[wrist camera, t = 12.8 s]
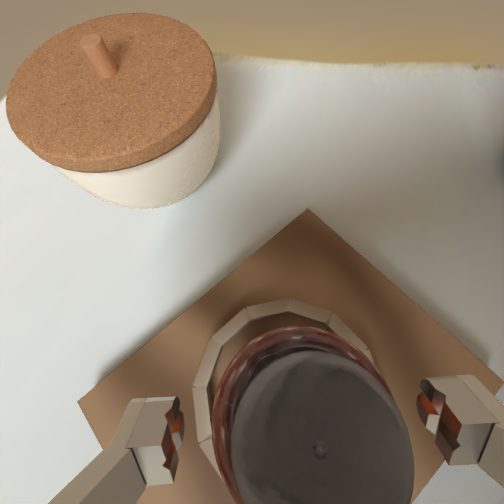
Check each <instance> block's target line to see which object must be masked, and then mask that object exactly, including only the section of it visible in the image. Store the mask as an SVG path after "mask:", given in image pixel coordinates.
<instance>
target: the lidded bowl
mask: <svg viewBox="0 0 504 504" xmlns="http://www.w3.org/2000/svg"><path fill="white" fill-rule="evenodd" d="M6 112H7V118H8V121H9V123H10V126H11V129H12V130H13V131H14V133H15V134H16V136H17V137H18V139H20V140H21V141H22V142H23V143H24V144H25V145H26V146H27V147H28V148H29V149H31V150H32V151H33V152H34V153H35V154H36V155H37V156H39V157H40V158H42V159H43V160H45V161H47V162H49V163H50V164H51V165H52V166H53V167H54V168H55V169H57V170H58V171H59V172H60V173H61V174H63V175H64V176H65V177H66V178H67V179H69V180H70V181H71V182H73V183H74V184H76V185H77V186H79V187H80V188H81V189H83V190H85V191H86V192H88V193H90V194H92V195H93V196H95V197H97V198H99V199H101V200H103V201H106V202H109V203H111V204H114V205H118V206H121V207H126V208H131V209H153V208H160V207H164V206H168V205H170V204H173V203H176V202H178V201H180V200H182V199H183V198H185V197H187V196H188V195H190V194H191V193H192V192H194V191H195V190H196V189H197V188H198V187H199V186H200V185H201V184H202V182H203V181H204V180H205V179H206V177H207V176H208V174H209V173H210V171H211V169H212V167H213V165H214V162H215V159H216V156H217V153H218V150H219V143H220V133H221V122H220V106H219V98H218V92H217V76H216V68H215V63H214V59H213V56H212V52H211V50H210V49H209V47H208V45H207V43H206V42H205V41H204V39H203V38H202V37H201V36H200V35H199V34H198V33H197V32H196V31H194V30H193V29H192V28H190V27H189V26H188V25H186V24H184V23H182V22H180V21H178V20H175V19H172V18H169V17H166V16H161V15H156V14H148V13H125V14H115V15H109V16H104V17H99V18H96V19H92V20H89V21H86V22H83V23H81V24H78V25H76V26H73V27H71V28H69V29H67V30H65V31H63V32H61V33H59V34H57V35H55V36H54V37H52V38H51V39H49V40H48V41H46V42H45V43H44V44H42V45H41V46H40V47H39V48H37V49H36V50H35V51H34V52H33V53H32V54H31V55H30V56H29V57H28V58H27V59H26V60H25V61H24V62H23V64H22V65H21V66H20V67H19V69H18V70H17V72H16V73H15V75H14V77H13V79H12V81H11V83H10V86H9V89H8V91H7V98H6Z"/></svg>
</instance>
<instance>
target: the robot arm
mask: <svg viewBox="0 0 504 504" xmlns="http://www.w3.org/2000/svg"><path fill="white" fill-rule="evenodd" d="M420 388H421V389H422V392H421V393H420V394H419V395H418V396H417V401H416V405H417V410H418V414H419V416H420V419H421V421H422V422H423V424H424V426H425V427H426V428H427V429H428V430H430V431H431V432H432V433H434V434H435V441H434V442H435V444H436V445H437V447H438V449H439V450H440V452H441V453H442V455H443V457H444V458H445V460H446V462H447V463H448V465H469V464H479V465H478V466H479V467H480V468H481V469H482V470H484V471H485V472H486V473H487V474H488V475H490V476H491V477H492V478H493V479H494V480H495V481H497V482H498V483H499V484H500V485H501V486H503V487H504V406H503V405H502V404H501V403H500V402H499V401H498V400H497V399H496V398H495V397H494V396H493V395H492V393H491V392H490V391H489V390H488V389H487V388H486V387H485V386H484V385H483V384H482V383H481V382H480V381H479V380H478V379H477V378H476V377H475V376H473V375H457V376H441V377H430V378H423V379H422V380H421V382H420ZM179 407H180V400H179V397H153V398H135V399H132V400H131V401H130V402H129V404H128V406H127V408H126V410H125V413H124V415H123V417H122V419H121V422H120V424H119V426H118V428H117V430H116V433H115V435H114V437H113V439H112V442H111V444H110V446H109V448H108V450H103V451H102V452H101V453H100V454H99V455H98V456H97V457H96V458H95V459H94V460H93V461H92V462H91V463H89V464H88V465H87V466H86V467H85V468H84V469H83V470H82V471H81V472H80V473H79V474H78V475H77V476H76V477H75V478H74V479H73V480H72V481H71V482H70V483H69V484H68V485H67V486H66V487H65V488H64V489H63V490H62V491H60V492H59V493H58V494H57V495H56V496H55V497H54V498H53V499H52V500H51V501H50V502H49V503H48V504H135V503H136V502H137V501H138V499H139V498H140V496H141V495H142V493H143V492H144V491H145V489H146V486H151V485H161V484H171V483H174V480H175V475H176V471H177V466H178V461H179V458H178V454H177V450H178V449H179V447H180V446H181V445H182V443H183V437H184V428H185V422H184V415H183V412H181V411H180V410H179Z"/></svg>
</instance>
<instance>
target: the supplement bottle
mask: <svg viewBox="0 0 504 504" xmlns="http://www.w3.org/2000/svg"><path fill="white" fill-rule="evenodd" d="M211 430H212V444H213V449H214V455H215V459H216V462H217V465H218V468H219V471H220V474H221V476H222V479H223V481H224V483H225V485H226V487H227V489H228V491H229V492H230V494H231V496H232V497H233V499H234V501H235V502H236V503H237V504H410V502H411V498H412V494H413V487H414V476H415V471H414V456H413V450H412V445H411V441H410V436H409V432H408V428H407V426H406V424H405V421H404V419H403V417H402V414H401V412H400V410H399V409H398V407H397V405H396V403H395V400H394V398H393V395H392V393H391V390H390V388H389V386H388V384H387V383H386V381H385V379H384V377H383V376H382V375H381V373H380V372H379V371H378V369H377V367H376V366H375V365H374V364H373V363H372V362H371V361H370V360H369V359H368V357H367V356H366V355H365V354H364V353H363V352H362V351H361V350H359V349H358V348H357V347H356V346H354V345H353V344H351V343H350V342H349V341H347V340H345V339H343V338H342V337H340V336H338V335H336V334H334V333H331V332H330V331H327V330H324V329H320V328H317V327H311V326H288V327H282V328H277V329H274V330H271V331H268V332H266V333H264V334H262V335H260V336H258V337H256V338H255V339H253V340H251V341H250V342H249V343H248V344H246V345H245V346H244V347H243V348H242V349H241V350H240V351H239V352H238V353H237V354H236V355H235V357H234V358H233V359H232V360H231V362H230V363H229V365H228V366H227V368H226V370H225V372H224V374H223V376H222V378H221V380H220V382H219V385H218V387H217V391H216V395H215V398H214V403H213V409H212V420H211Z"/></svg>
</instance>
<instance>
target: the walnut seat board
mask: <svg viewBox="0 0 504 504" xmlns="http://www.w3.org/2000/svg"><path fill="white" fill-rule="evenodd" d="M288 326H311V327H317V328H320V329H324V330H327V331H330V332H331V333H334V334H336V335H338V336H340V337H342V338H343V339H345V340H347V341H349V342H350V343H351V344H353V345H354V346H356V347H357V348H358V349H359V350H361V351H362V352H363V353H364V354H365V355H366V356H367V357H368V359H369V360H370V361H371V362H372V363H373V364H374V365H375V366H376V367H377V369H378V371H379V372H380V373H381V375H382V376H383V377H384V379H385V381H386V383H387V384H388V386H389V388H390V390H391V393H392V395H393V398H394V400H395V403H396V405H397V407H398V409H399V410H400V412H401V414H402V417H403V419H404V421H405V424H406V426H407V428H408V432H409V436H410V441H411V445H412V450H413V456H414V471H415V476H414V487H413V494H412V498H411V502H410V504H412V502H413V501H414V500H415V498H416V497H417V496H418V495H419V493H420V492H421V491H422V489H423V488H424V487H425V485H426V484H427V483H428V481H429V480H430V479H431V478H432V476H433V475H434V474H435V472H436V471H437V470H438V468H439V467H440V466H441V464H442V463H443V462H444V461H445V458H444V457H443V455H442V453H441V452H440V450H439V449H438V447H437V445H436V444H435V442H434V441H435V434H434V433H432V432H431V431H430V430H428V429H427V428H426V427H425V426H424V424H423V422H422V421H421V419H420V416H419V414H418V410H417V405H416V401H417V396H418V395H419V394H420V393H421V392H422V389H421V388H420V382H421V380H422V379H423V378H430V377H441V376H457V375H473V376H475V377H476V378H477V379H478V380H479V381H480V382H481V383H482V384H483V385H484V386H485V387H486V388H487V389H488V390H489V391H490V392H491V393H492V395H493V396H494V395H495V394H496V393H497V391H498V390H499V389H500V387H501V386H502V385H503V383H504V381H503V380H502V379H501V378H499V377H498V376H497V375H496V374H495V373H494V372H493V371H492V370H490V369H489V368H488V367H487V366H486V365H485V364H484V363H482V362H481V361H480V360H479V359H478V358H477V357H476V356H475V355H473V354H472V353H471V352H470V351H469V350H468V349H467V348H465V347H464V346H463V345H462V344H461V343H460V342H459V341H458V340H456V339H455V338H454V337H453V336H452V335H451V334H450V333H448V332H447V331H446V330H445V329H444V328H443V327H442V326H441V325H439V324H438V323H437V322H436V321H435V320H434V319H433V318H431V317H430V316H429V315H428V314H427V313H426V312H425V311H424V310H422V309H421V308H420V307H419V306H418V305H417V304H416V303H414V302H413V301H412V300H411V299H410V298H409V297H408V296H407V295H405V294H404V293H403V292H402V291H401V290H400V289H399V288H397V287H396V286H395V285H394V284H393V283H392V282H391V281H390V280H388V279H387V278H386V277H385V276H384V275H383V274H382V273H380V272H379V271H378V270H377V269H376V268H375V267H374V266H373V265H371V264H370V263H369V262H368V261H367V260H366V259H365V258H363V257H362V256H361V255H360V254H359V253H358V252H357V251H356V250H354V249H353V248H352V247H351V246H350V245H349V244H348V243H346V242H345V241H344V240H343V239H342V238H341V237H340V236H339V235H337V234H336V233H335V232H334V231H333V230H332V229H331V228H329V227H328V226H327V225H326V224H325V223H324V222H323V221H322V220H320V219H319V218H318V217H317V216H316V215H315V214H314V213H312V212H311V211H310V210H309V209H306V210H305V211H304V212H303V213H302V214H300V215H299V216H298V217H297V218H296V219H294V220H293V221H292V222H291V223H290V224H288V225H287V226H286V227H285V228H284V229H283V230H281V231H280V232H279V233H278V234H277V235H275V236H274V237H273V238H272V239H271V240H269V241H268V242H267V243H266V244H265V245H263V246H262V247H261V248H260V249H259V250H257V251H256V252H255V253H254V254H253V255H252V256H250V257H249V258H248V259H247V260H246V261H244V262H243V263H242V264H241V265H240V266H238V267H237V268H236V269H235V270H234V271H232V272H231V273H230V274H229V275H228V276H226V277H225V278H224V279H223V280H222V281H221V282H219V283H218V284H217V285H216V286H215V287H213V288H212V289H211V290H210V291H209V292H207V293H206V294H205V295H204V296H203V297H201V298H200V299H199V300H198V301H197V302H195V303H194V304H193V305H192V306H191V307H189V308H188V309H187V310H186V311H185V312H184V313H182V314H181V315H180V316H179V317H178V318H176V319H175V320H174V321H173V322H172V323H170V324H169V325H168V326H167V327H166V328H164V329H163V330H162V331H161V332H160V333H158V334H157V335H156V336H155V337H154V338H153V339H151V340H150V341H149V342H148V343H147V344H145V345H144V346H143V347H142V348H141V349H139V350H138V351H137V352H136V353H135V354H133V355H132V356H131V357H130V358H129V359H127V360H126V361H125V362H124V363H123V364H122V365H120V366H119V367H118V368H117V369H116V370H114V371H113V372H112V373H111V374H110V375H108V376H107V377H106V378H105V379H104V380H102V381H101V382H100V383H99V384H98V385H96V386H95V387H94V388H93V389H92V390H91V391H89V392H88V393H87V394H86V395H85V396H83V397H82V398H81V399H80V400H79V401H77V402H78V404H79V406H80V408H81V410H82V412H83V413H84V415H85V417H86V419H87V421H88V423H89V425H90V426H91V428H92V430H93V432H94V434H95V436H96V438H97V439H98V441H99V443H100V445H101V447H102V449H103V450H108V448H109V446H110V444H111V442H112V439H113V437H114V435H115V433H116V430H117V428H118V426H119V424H120V422H121V419H122V417H123V415H124V413H125V410H126V408H127V406H128V404H129V402H130V401H131V400H132V399H135V398H153V397H179V400H180V407H179V410H180V411H181V412H183V415H184V422H185V428H184V437H183V443H182V445H181V446H180V447H179V449H178V450H177V454H178V458H179V461H178V466H177V471H176V475H175V480H174V483H171V484H161V485H151V486H146V489H145V491H144V492H143V493H142V495H141V496H140V498H139V499H138V501H137V502H136V503H135V504H237V503H236V502H235V501H234V499H233V497H232V496H231V494H230V492H229V491H228V489H227V487H226V485H225V483H224V481H223V479H222V476H221V474H220V471H219V468H218V465H217V462H216V459H215V455H214V449H213V444H212V430H211V420H212V409H213V403H214V398H215V395H216V391H217V387H218V385H219V382H220V380H221V378H222V376H223V374H224V372H225V370H226V368H227V366H228V365H229V363H230V362H231V360H232V359H233V358H234V357H235V355H236V354H237V353H238V352H239V351H240V350H241V349H242V348H243V347H244V346H245V345H246V344H248V343H249V342H250V341H251V340H253V339H255V338H256V337H258V336H260V335H262V334H264V333H266V332H268V331H271V330H274V329H277V328H282V327H288Z"/></svg>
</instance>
